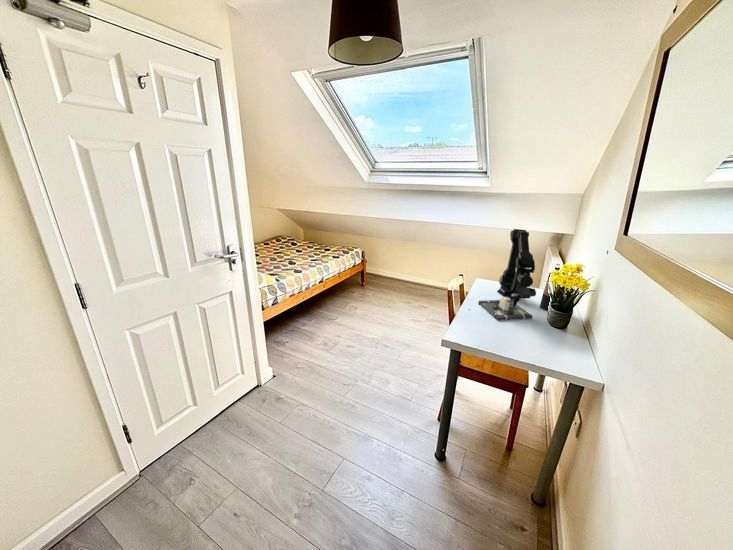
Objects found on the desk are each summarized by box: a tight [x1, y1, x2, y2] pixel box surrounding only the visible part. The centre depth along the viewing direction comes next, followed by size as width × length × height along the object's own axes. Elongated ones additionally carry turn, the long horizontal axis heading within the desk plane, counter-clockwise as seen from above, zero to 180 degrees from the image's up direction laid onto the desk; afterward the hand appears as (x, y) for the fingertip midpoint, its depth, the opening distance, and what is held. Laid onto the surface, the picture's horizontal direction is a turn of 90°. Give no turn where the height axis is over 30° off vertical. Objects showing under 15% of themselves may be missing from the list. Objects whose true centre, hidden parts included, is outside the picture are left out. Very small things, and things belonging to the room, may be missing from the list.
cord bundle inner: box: [477, 299, 511, 306], centre depth 167 cm, size 2×20×2 cm, turn 99°
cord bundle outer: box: [494, 313, 534, 321], centre depth 152 cm, size 2×20×2 cm, turn 100°
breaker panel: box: [479, 302, 531, 319], centre depth 159 cm, size 14×20×2 cm
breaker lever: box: [499, 297, 510, 311], centre depth 158 cm, size 5×2×5 cm, turn 10°
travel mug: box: [539, 272, 552, 312], centre depth 162 cm, size 8×8×20 cm
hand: (513, 306), depth 159 cm, fingers closed
